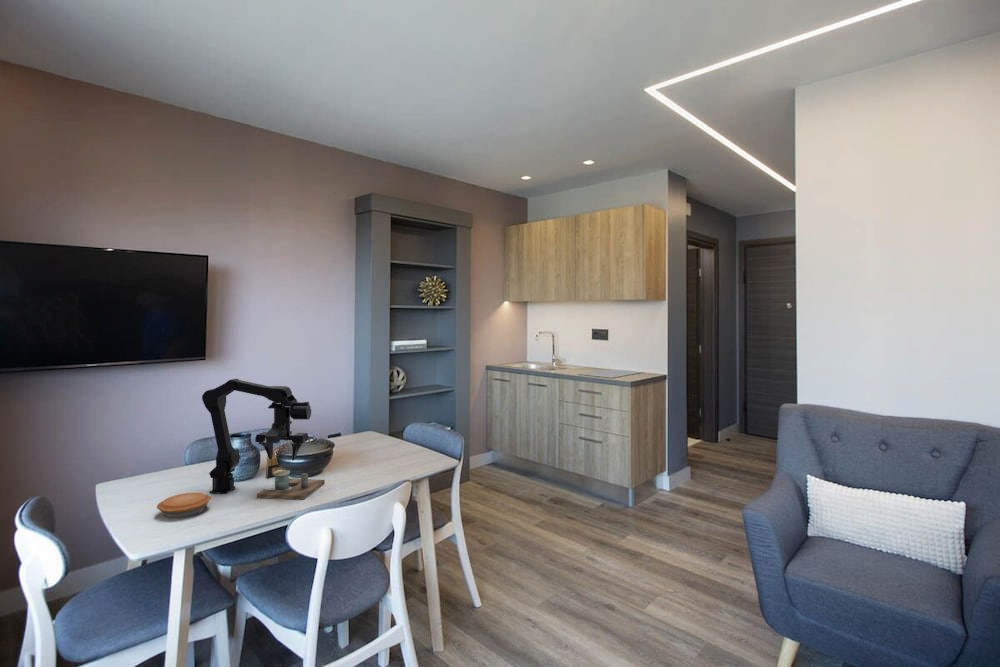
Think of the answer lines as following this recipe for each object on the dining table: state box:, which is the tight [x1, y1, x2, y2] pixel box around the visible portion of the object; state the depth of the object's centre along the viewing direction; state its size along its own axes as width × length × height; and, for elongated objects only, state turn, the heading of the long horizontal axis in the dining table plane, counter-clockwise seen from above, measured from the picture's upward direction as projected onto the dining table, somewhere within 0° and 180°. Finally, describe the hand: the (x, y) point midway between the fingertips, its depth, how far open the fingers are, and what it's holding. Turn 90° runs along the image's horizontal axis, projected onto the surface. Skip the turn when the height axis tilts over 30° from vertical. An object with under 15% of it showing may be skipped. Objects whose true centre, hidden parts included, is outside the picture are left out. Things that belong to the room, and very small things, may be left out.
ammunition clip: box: [265, 445, 292, 479], centre depth 207 cm, size 11×2×12 cm, turn 136°
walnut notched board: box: [255, 472, 326, 501], centre depth 189 cm, size 18×18×6 cm
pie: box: [156, 492, 212, 519], centre depth 167 cm, size 15×16×5 cm
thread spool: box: [273, 469, 291, 490], centre depth 189 cm, size 6×6×7 cm
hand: (282, 459), depth 189 cm, fingers open, 9 cm apart
